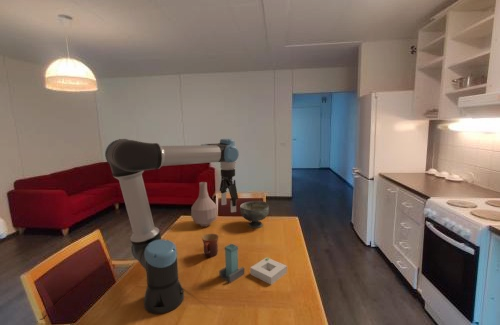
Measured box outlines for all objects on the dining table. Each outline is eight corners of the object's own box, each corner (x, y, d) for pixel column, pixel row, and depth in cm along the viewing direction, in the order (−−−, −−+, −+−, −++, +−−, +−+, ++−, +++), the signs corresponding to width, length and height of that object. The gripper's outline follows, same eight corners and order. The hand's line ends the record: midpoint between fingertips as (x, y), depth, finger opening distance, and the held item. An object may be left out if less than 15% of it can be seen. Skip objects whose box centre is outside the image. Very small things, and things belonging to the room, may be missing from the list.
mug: (206, 250, 143) (205, 233, 141) (221, 251, 141) (220, 234, 140) (197, 261, 131) (196, 242, 130) (213, 263, 130) (213, 244, 128)
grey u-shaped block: (230, 284, 112) (230, 276, 112) (219, 277, 117) (219, 270, 117) (244, 275, 119) (244, 267, 118) (233, 269, 124) (233, 262, 123)
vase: (190, 222, 184) (187, 181, 180) (213, 218, 191) (212, 179, 187) (194, 231, 168) (192, 187, 164) (220, 227, 175) (219, 184, 171)
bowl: (239, 221, 185) (239, 201, 183) (266, 219, 188) (265, 199, 185) (241, 232, 166) (241, 210, 164) (271, 230, 168) (271, 208, 166)
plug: (232, 279, 115) (231, 249, 113) (225, 275, 118) (224, 246, 116) (238, 274, 118) (237, 246, 116) (232, 271, 121) (231, 243, 119)
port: (271, 286, 111) (271, 276, 110) (250, 275, 119) (250, 266, 118) (286, 273, 119) (286, 264, 119) (266, 264, 127) (266, 256, 127)
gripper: (244, 171, 124) (244, 214, 127) (225, 165, 146) (226, 201, 149) (230, 173, 120) (230, 216, 123) (213, 166, 143) (214, 202, 146)
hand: (228, 208), depth 136 cm, fingers open, 13 cm apart
